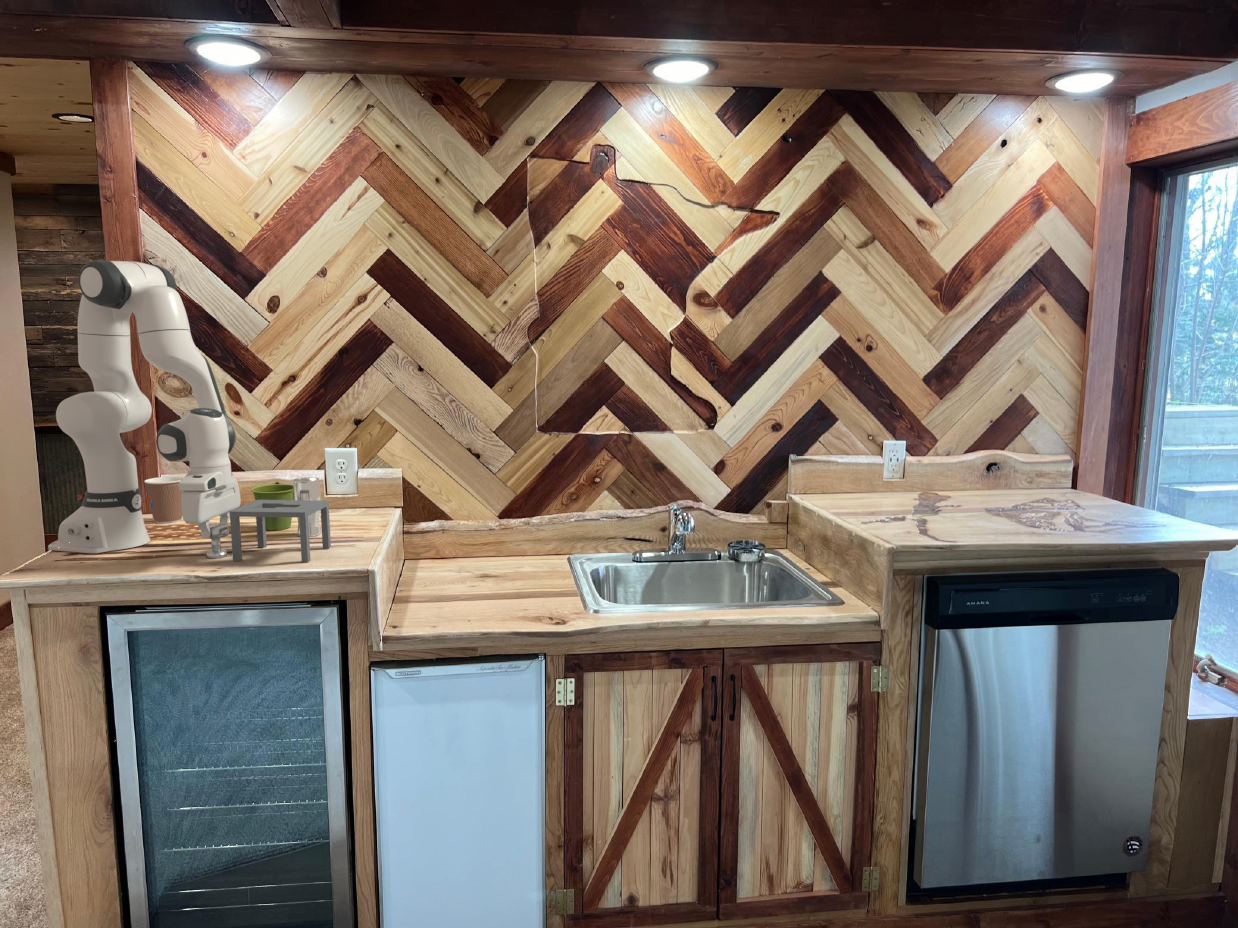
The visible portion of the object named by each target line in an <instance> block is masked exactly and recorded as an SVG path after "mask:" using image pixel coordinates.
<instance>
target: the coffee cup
mask: <svg viewBox="0 0 1238 928" xmlns="http://www.w3.org/2000/svg"><path fill="white" fill-rule="evenodd" d="M184 477H185V476H161V477H159V476H158V477H153V478H148V479H145V480H144V484H145V487H146V492H147V496H148V497H147V498H148V501H149V506H150V510H151V513H152V518H153V520H154V521H153V522H154V523H155V522H156V523H155V524H172V523H171V522H174V523H178V522H181V521H182V519H183V515H182V507H181V495H182V493H183V491H180V490H179V482H180V481H181V480H182V479H183V478H184ZM180 520H181V521H180ZM177 521H178V522H177Z"/></svg>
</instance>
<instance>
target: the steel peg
mask: <svg viewBox="0 0 1238 928" xmlns="http://www.w3.org/2000/svg"><path fill="white" fill-rule="evenodd" d="M208 525H209V528H210V530H212V537H210V538H208V539H210V541H211V542H210V544H211V545H210V546H211V550H209V551H207V552H206V558H207V559H209V560H219V559H224V558H226V557H227V556H228V553H227V552H228V550H227V549H222V542H221V538H225V537H228V536H230V528H229V527H230V526H229V523H228V524H226V523H220V522H215V523H213V522H212V523H209V524H208ZM200 533H201V534H200V535H201V537H202V532H201V531H200ZM208 539H207V540H208Z"/></svg>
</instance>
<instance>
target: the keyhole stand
mask: <svg viewBox="0 0 1238 928" xmlns="http://www.w3.org/2000/svg"><path fill="white" fill-rule="evenodd" d="M319 510H320V522H321V536H322V537H321V541H322V550H329V549H331V548H332V543H331V542H332V541H331V539H332V538H331V522H330V521H331V519H330V504H329V500H326V499H325V500H322V499H321V500H254V501H251V502H248V503H247V504H244V505H241V506H240V507H238V508H236V509H234V510H231V511H230V518H229V521H230V522H229V523H230V537H231V551H232V552H231V553H232V562H241V561H243V547H242V533H241V523H240V522H241V520H240V518H244V517H245V518H247V517H248V518H249V517H250V518H255V523H256V538H257V548H258V547H265V548H266V546H267V530H266V528H265V517H292V518H297V517H299V525H300V537H299V539H300V554H301V557H300V558H301V563H309V562H311V545H310V544H311V543H310V542H311V541H310V537H309V524H308V516H309V515H311V514H313V513H315V512H317V511H319ZM330 547H331V548H330Z"/></svg>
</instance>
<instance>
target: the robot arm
mask: <svg viewBox="0 0 1238 928" xmlns="http://www.w3.org/2000/svg"><path fill="white" fill-rule="evenodd" d="M78 285H79V290H80V293H81V294H82V295H81V298H80V302H79V305H78V306H79V307H78V314H77V354H78V355H77V356H78V357H77V358H78V359H77V360H78V364H79V366H80V368H81V370H82V371H84V372H86V373H87V374H88V376H89V378H90V380H91V382H92V383H91V384H92V386H93V390H94V391H88V392H81V393H78V394H74V395H72V396H69V397H67V398H65V399H63V400H62V401H61V402H60V403H59V404H58V406H57V408H56V411H55V417H56V418H55V419H56V422H57V425H58V427H59V429H61V431H62V432H63V433H65V434H66V435H68V436H69V437H70V438H71V439H72V440H73V441H74V443H75V445H76V446H77V448H78V450H79V452H80V455H81V458H82V460H83V461H82V462H83V465H84V470H85V471H84V473H85V478H86V479H85V481H86V488H87V490H86V491H85V492H84V493H82V494H78V495H76V497H78V498H77V501H80V500H82V502H81V506H80V507H79V508H78V509H77V510H76V511H74V512H73V513H71V515H68V517H66V518H65V519H64V520H62V522H61V523H60V524H59V527H58V534H57V537H58V538H57V540H55V541H53V542H51V543H50V544H48V546H47V550H48V551H58V552H70V553H71V552H72V553H83V554H84V553H85V554H100V553H105V552H112V551H118V550H124V549H125V550H126V549H130V548H135V547H141V546H143V545H146V544H148V543H150V542H151V537H150V536H149V533H148V530H147V527H146V525H145V520H144V517H143V511H142V505H143V503H142V500H143V498H142V491H141V487H140V486H139V479H138V478H139V477H138V467H137V460H136V456H135V455H134V454H132V453H131V452H129V450H127V449H126V447H125V445H124V443H123V440H122V438H121V433H128V432H132V431H134V430H137V429H138V428H140V427H142V426H144V425H145V424H147V423H148V422H149V421H150V419H151V418H152V411H153V409H152V403H151V402H150V399H149V398H148V397H147V396H146V395H145V394H144V393H143V392H142V391H141V389H140V387H139V385H138V383H137V380H136V378H135V375H134V371H133V366H132V365H133V364H132V350H131V349H132V346H131V345H132V344H131V325H130V320H131V317H132V315H134V317H135V321H136V328H137V329H136V330H137V335H138V340H139V346H140V350H141V353H142V355H143V357H144V358H145V360H146V361H147V362H148V363H150V365H152V366H153V367H155V368H157V369H158V370H161V371H163V372H166V373H169V374H173V375H175V376H176V377H177V376H178V377H180V378H181V379H183V380H184V381H186V383H188V385H189V386H190V387H191V389H192V390H193V394H194V397H195V400H196V405H197V408H193V409H189V410H188V412H187V413H186V415H185V416H184V417H182V418H180V419H178V420H175V421H172V422H169V423H165V424H164V425H162V426H161V427H160V428H159V430H158V431H157V435H156V447H157V451H158V452H159V454H160V455H161V456H162V457H163V458H164V459H165V460H166V461H168V462H173V463H181V462H189V471H188V472H187V473H186V475H185V476H183V477H184V478H183V479H182V480H181V481H180V482H179V490H180V491H183V493H182V495H181V507H182V519H183V521H184V522H185V524H187V525H188V524H189V525H197V526H198V528H199V530H200V533H201V532H202V536H201V538H202V539H207V540H208V538H210V537H212V530H210V528H209V525H208V524H210V520H212V519H215V518H217V517H218V516H219V523H226V524H228V525H229V521H230V511H232V510H234V509H237V508H239V507H241V503H242V499H241V491H240V487H239V486H240V485H239V482H238V480H237V479H236V476H235V475H234V474H233V472H232V464H231V460H230V457H229V455H230V453H231V452H232V451H233V449H234V446H235V445H236V440H237V436H236V432H235V429H234V426H233V424H232V423H231V421H230V419H229V417H228V415H227V412H226V410H225V406H224V403H223V400H222V396H221V393H220V389H219V388H218V384H217V381H216V377H215V376H214V375H215V374H214V372H213V370H212V367H211V365H210V362H209V360H208V359H207V358H206V356H205V355H203V354H202V353H200V351H199V350H198V348H197V346H196V344H195V342H194V339H193V337H192V333H191V328H190V322H189V318H188V314H187V311H186V307H185V305H184V303H183V300H182V297H181V296H180V293H179V292H178V291H177V282H176V280H175V277H174V276H173V274H172V273H171V271H170V270H168V269H167V268H164V267H162V266H160V265H157V264H155V263H154V264H153V263H144V262H140V261H132V260H125V261H123V260H107V259H99V260H98V259H97V260H91V261H89V262H87V263H86V264H84V265H83V267H81V269H80V271H79V276H78ZM69 542H70V543H69ZM58 547H60V548H59V549H58Z"/></svg>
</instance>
